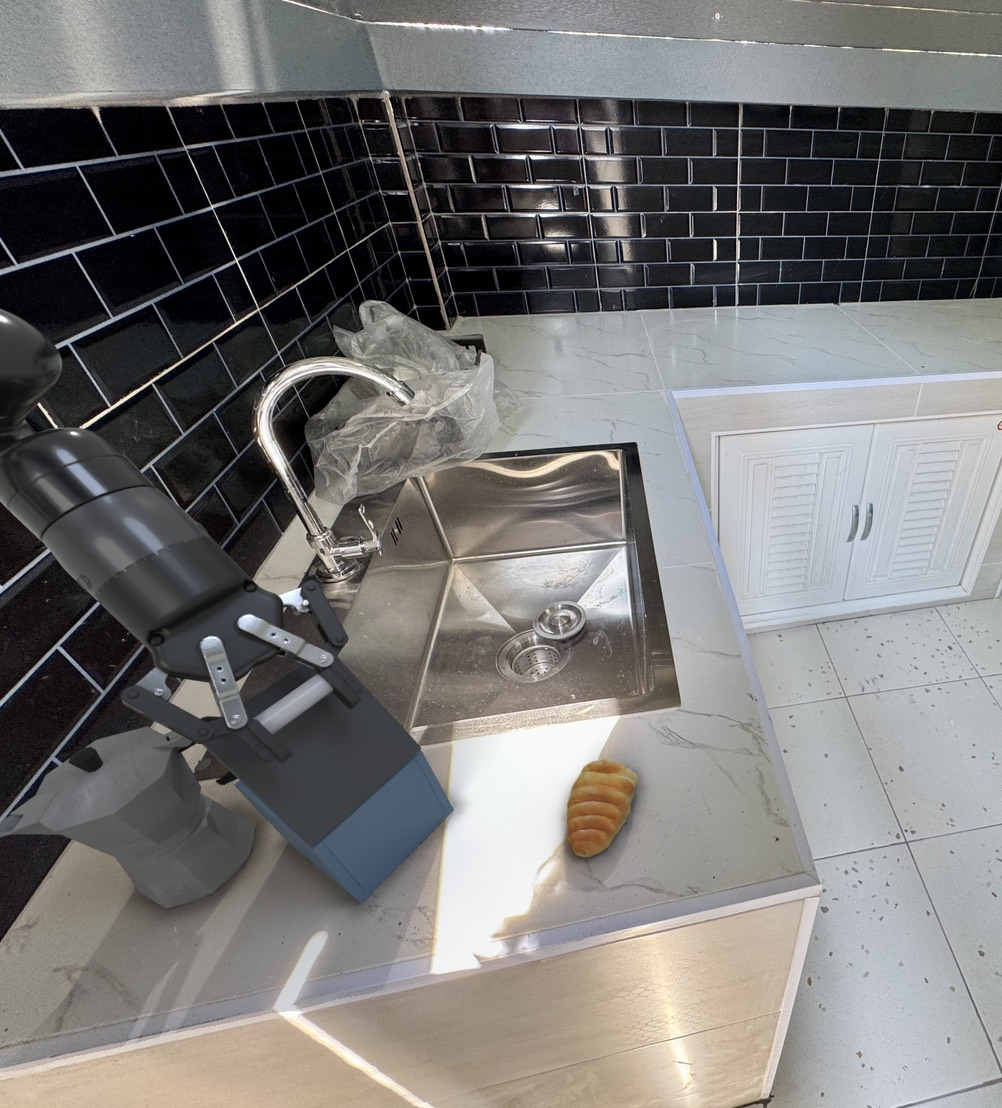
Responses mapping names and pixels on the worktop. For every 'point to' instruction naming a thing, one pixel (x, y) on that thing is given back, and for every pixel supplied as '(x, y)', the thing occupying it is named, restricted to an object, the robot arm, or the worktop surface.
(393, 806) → the blue-grey box
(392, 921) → the worktop surface
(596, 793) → the pastry
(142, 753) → the coffeepot
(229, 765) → the grey box lid
